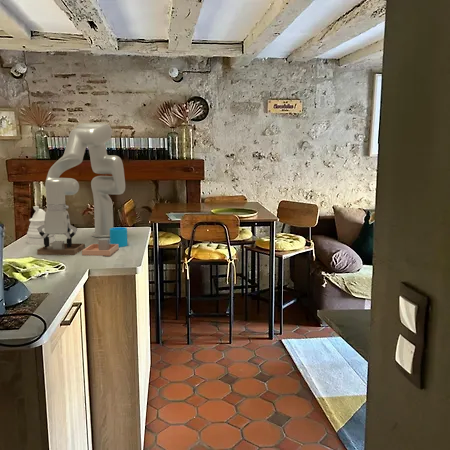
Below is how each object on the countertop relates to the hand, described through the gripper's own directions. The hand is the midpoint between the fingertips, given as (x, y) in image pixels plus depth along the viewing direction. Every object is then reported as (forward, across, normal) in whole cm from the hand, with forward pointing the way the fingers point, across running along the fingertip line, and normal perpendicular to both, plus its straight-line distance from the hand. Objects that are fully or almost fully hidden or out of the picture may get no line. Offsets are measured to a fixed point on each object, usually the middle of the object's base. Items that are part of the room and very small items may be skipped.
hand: (58, 247), depth 197 cm
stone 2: (+2, -18, -7) cm, 20 cm away
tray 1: (+3, 0, -4) cm, 5 cm away
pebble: (+3, +5, -4) cm, 7 cm away
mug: (+3, -21, -22) cm, 31 cm away
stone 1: (+3, 0, 0) cm, 3 cm away
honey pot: (+3, +18, -24) cm, 30 cm away
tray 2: (+3, -18, -4) cm, 18 cm away
